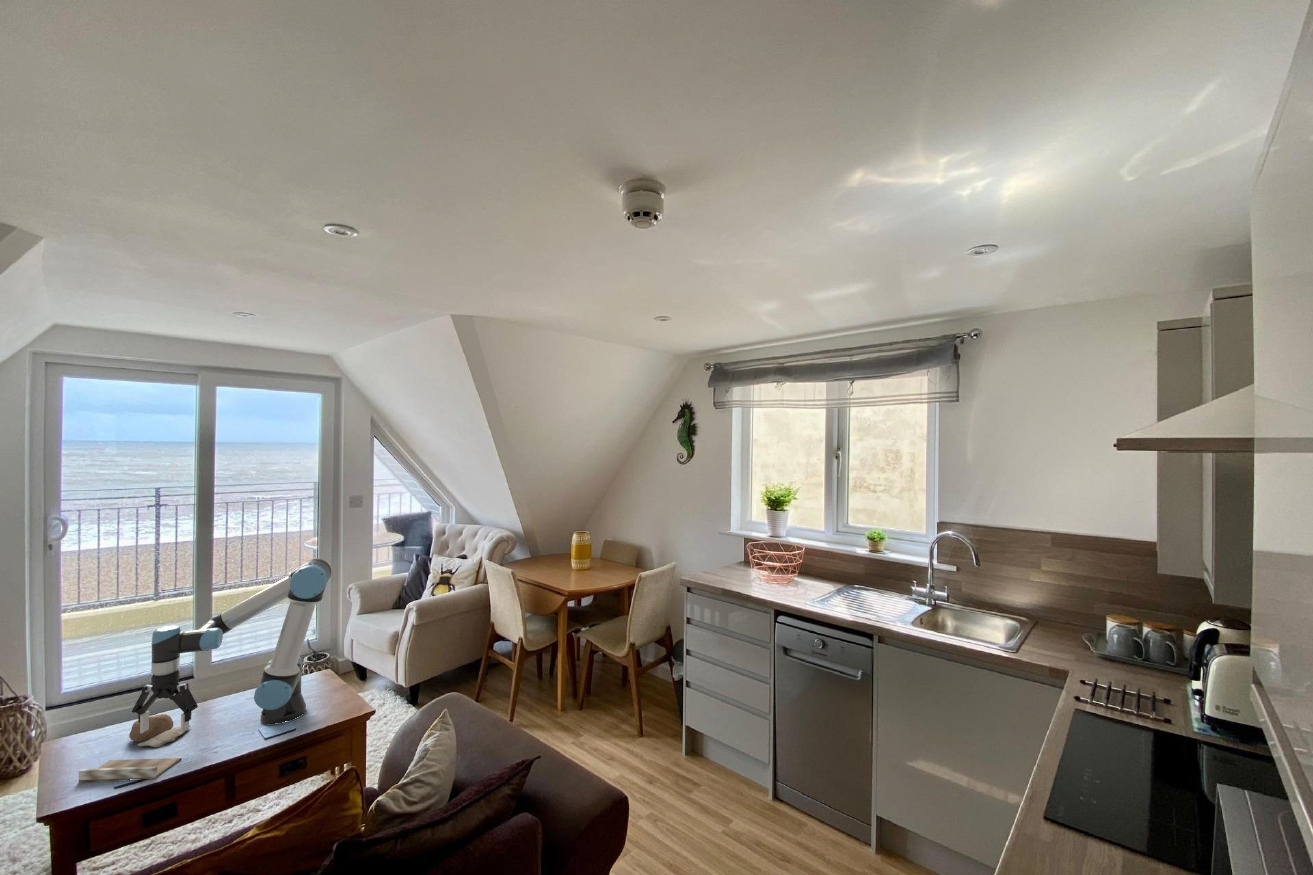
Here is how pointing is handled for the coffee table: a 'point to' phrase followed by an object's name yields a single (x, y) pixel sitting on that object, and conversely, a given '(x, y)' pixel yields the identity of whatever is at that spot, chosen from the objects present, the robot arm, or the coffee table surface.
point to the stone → (151, 728)
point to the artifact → (163, 738)
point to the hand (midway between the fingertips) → (164, 730)
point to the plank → (128, 770)
